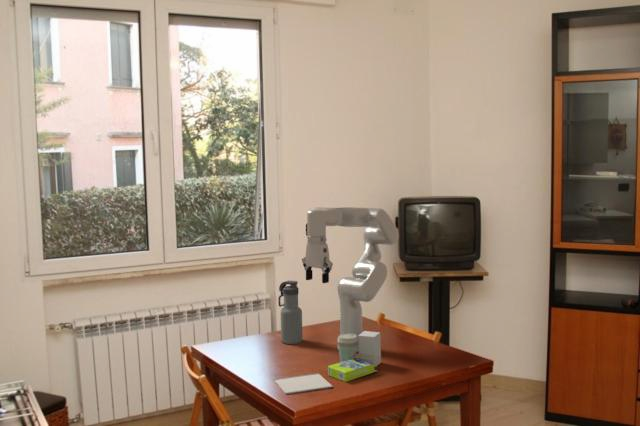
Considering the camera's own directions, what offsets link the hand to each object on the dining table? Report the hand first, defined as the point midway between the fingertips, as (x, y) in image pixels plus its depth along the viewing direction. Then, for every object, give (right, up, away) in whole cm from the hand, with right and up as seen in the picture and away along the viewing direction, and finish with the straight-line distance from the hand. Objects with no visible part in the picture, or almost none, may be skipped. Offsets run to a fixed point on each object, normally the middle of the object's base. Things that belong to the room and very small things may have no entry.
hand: (317, 281), depth 268 cm
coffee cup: (+12, -34, -3) cm, 36 cm away
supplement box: (+21, -34, -2) cm, 40 cm away
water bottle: (-12, -31, +32) cm, 46 cm away
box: (+7, -33, -19) cm, 39 cm away
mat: (-5, -36, -24) cm, 44 cm away
